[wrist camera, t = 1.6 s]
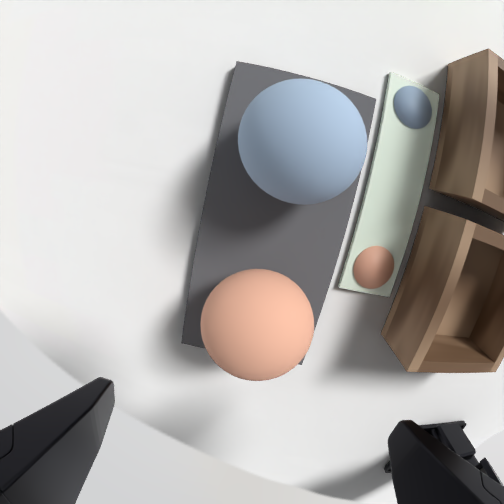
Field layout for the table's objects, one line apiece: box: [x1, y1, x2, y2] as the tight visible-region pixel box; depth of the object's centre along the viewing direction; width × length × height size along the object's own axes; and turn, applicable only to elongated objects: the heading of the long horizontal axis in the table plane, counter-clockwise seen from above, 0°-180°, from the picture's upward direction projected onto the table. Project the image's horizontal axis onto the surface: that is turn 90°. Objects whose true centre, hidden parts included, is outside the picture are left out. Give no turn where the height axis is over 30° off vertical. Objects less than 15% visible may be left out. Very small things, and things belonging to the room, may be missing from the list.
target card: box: [338, 72, 440, 297], centre depth 15 cm, size 12×3×1 cm, turn 168°
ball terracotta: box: [200, 269, 314, 381], centre depth 14 cm, size 5×5×5 cm
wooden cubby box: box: [381, 206, 504, 373], centre depth 15 cm, size 8×8×4 cm
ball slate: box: [238, 79, 367, 205], centre depth 11 cm, size 5×5×5 cm
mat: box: [182, 61, 376, 365], centre depth 15 cm, size 15×7×1 cm, turn 168°
